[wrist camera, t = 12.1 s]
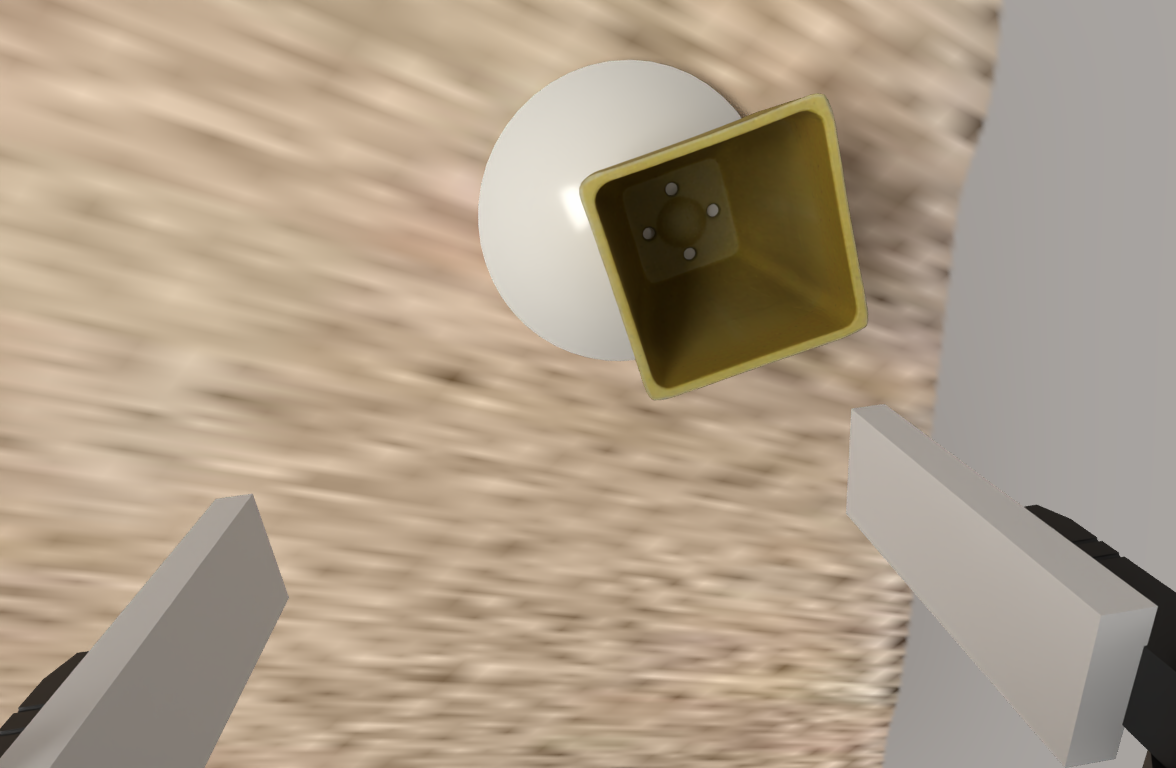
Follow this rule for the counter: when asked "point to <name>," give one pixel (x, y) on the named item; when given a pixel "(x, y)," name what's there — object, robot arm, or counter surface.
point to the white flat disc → (551, 192)
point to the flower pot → (730, 247)
